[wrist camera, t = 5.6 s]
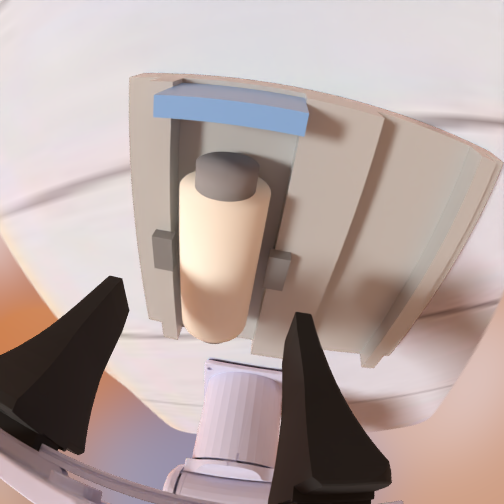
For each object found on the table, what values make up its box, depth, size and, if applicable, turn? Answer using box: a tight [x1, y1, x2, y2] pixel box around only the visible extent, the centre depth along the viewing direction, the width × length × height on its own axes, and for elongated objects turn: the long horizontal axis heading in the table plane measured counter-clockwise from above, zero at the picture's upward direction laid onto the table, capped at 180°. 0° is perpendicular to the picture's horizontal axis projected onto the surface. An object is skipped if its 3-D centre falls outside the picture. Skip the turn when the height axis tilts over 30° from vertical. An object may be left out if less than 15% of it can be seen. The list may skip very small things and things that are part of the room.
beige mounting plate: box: [129, 73, 503, 368], centre depth 15 cm, size 16×18×4 cm
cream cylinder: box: [179, 152, 271, 344], centre depth 14 cm, size 10×4×4 cm, turn 172°
